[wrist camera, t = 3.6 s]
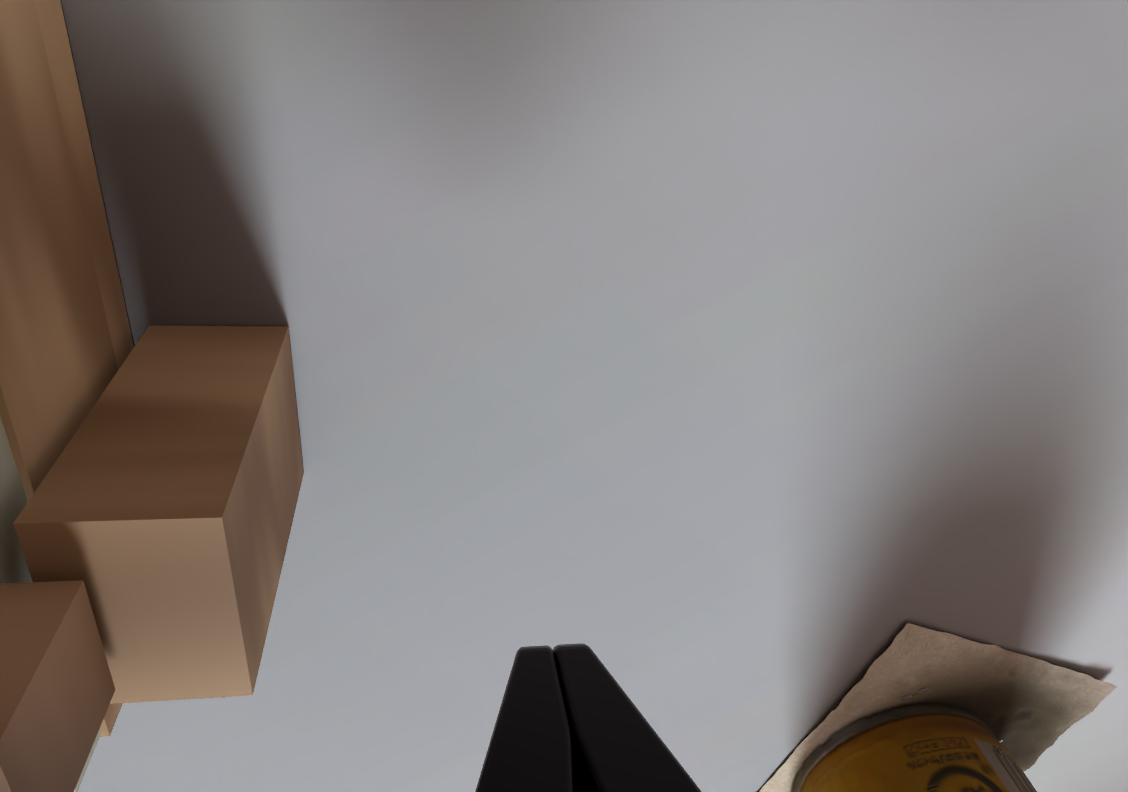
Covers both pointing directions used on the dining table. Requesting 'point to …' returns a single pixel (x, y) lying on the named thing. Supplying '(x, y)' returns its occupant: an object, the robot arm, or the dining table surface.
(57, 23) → the brown shallow open box
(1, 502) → the lid
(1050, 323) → the dining table surface
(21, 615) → the brown wooden bar
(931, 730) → the yellow can
